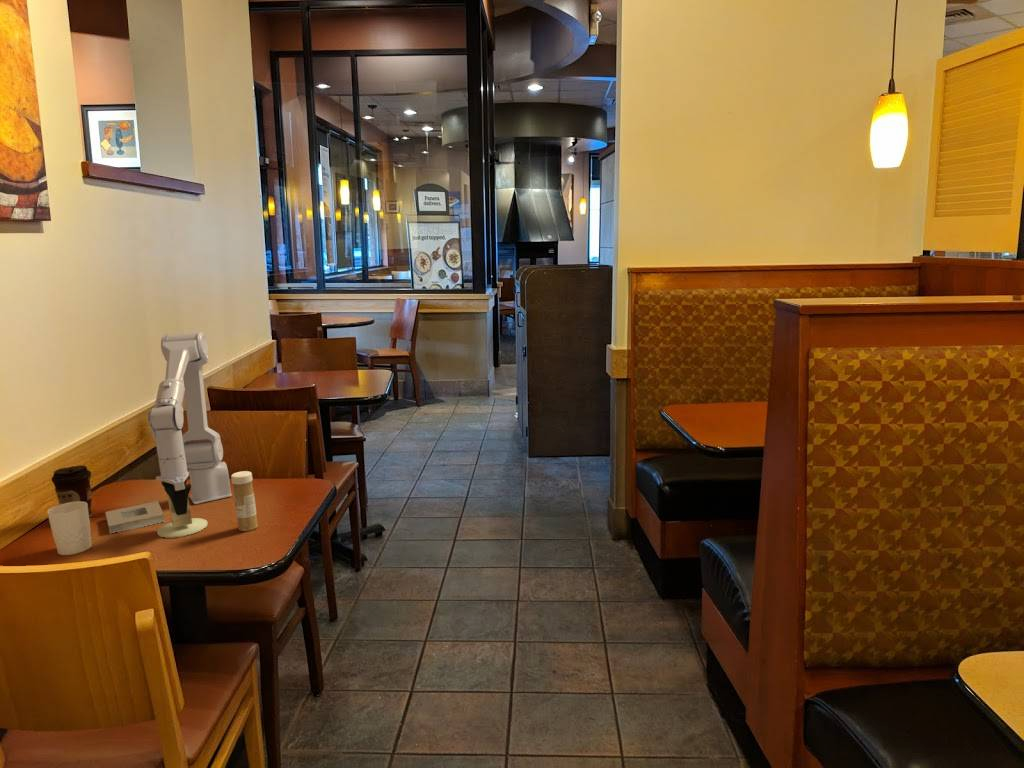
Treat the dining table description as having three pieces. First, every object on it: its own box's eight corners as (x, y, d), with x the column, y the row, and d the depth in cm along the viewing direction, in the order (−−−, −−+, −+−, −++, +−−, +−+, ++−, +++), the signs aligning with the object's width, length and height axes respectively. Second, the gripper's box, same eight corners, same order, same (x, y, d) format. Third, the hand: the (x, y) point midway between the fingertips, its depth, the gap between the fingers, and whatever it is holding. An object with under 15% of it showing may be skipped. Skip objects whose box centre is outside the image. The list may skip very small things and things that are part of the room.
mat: (203, 516, 188) (203, 514, 188) (211, 530, 179) (211, 528, 179) (154, 527, 183) (154, 525, 183) (160, 542, 173) (160, 540, 173)
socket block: (158, 508, 196) (157, 500, 196) (164, 521, 186) (163, 514, 186) (106, 519, 190) (105, 511, 190) (110, 534, 180) (108, 526, 180)
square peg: (189, 518, 183) (184, 487, 181) (192, 523, 180) (187, 491, 178) (171, 522, 181) (166, 490, 179) (173, 527, 178) (168, 495, 176)
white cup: (65, 543, 176) (57, 502, 174) (100, 540, 176) (93, 499, 174) (48, 558, 168) (39, 515, 166) (85, 555, 169) (77, 512, 167)
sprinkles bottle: (234, 529, 179) (226, 474, 176) (251, 523, 182) (244, 469, 179) (245, 533, 176) (237, 477, 173) (262, 526, 179) (255, 472, 176)
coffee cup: (79, 525, 187) (70, 474, 185) (51, 524, 189) (41, 474, 186) (105, 512, 196) (96, 463, 193) (77, 511, 197) (68, 463, 195)
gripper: (149, 452, 181) (158, 506, 184) (156, 467, 169) (166, 524, 172) (181, 446, 185) (189, 500, 187) (190, 460, 173) (199, 517, 175)
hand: (180, 511), depth 180 cm, fingers closed on square peg, 4 cm apart
